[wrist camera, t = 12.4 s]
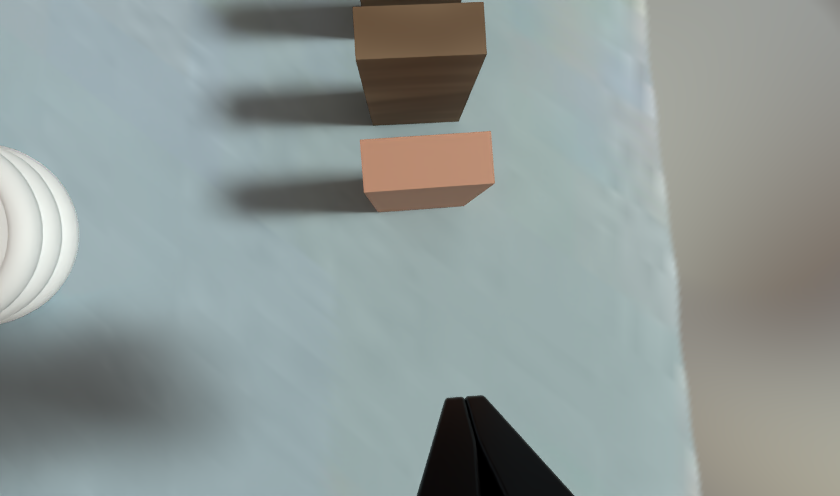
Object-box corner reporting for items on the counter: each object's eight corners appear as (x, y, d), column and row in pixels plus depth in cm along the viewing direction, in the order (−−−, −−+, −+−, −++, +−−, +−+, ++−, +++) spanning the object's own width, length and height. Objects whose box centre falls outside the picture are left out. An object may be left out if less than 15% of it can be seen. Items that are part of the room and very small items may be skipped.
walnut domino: (458, 121, 23) (486, 54, 15) (372, 125, 23) (355, 59, 15) (456, 87, 23) (483, 1, 15) (370, 91, 23) (352, 6, 15)
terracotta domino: (463, 206, 23) (494, 183, 15) (378, 212, 23) (364, 192, 15) (461, 171, 23) (490, 131, 15) (375, 177, 23) (359, 139, 15)
